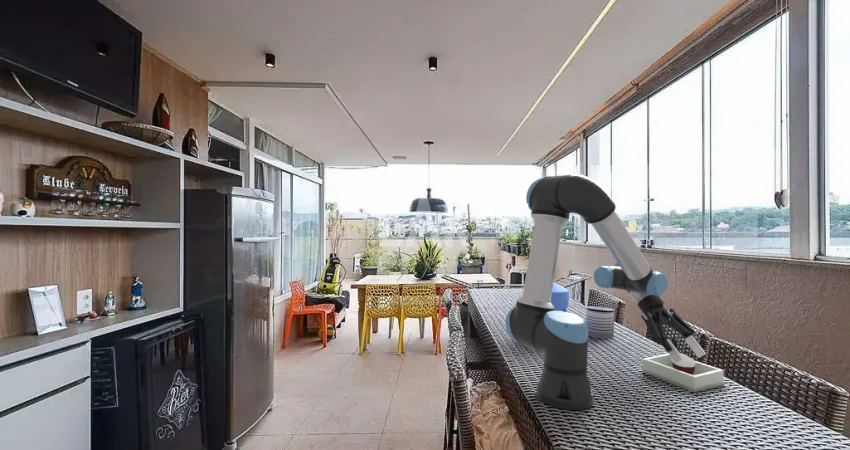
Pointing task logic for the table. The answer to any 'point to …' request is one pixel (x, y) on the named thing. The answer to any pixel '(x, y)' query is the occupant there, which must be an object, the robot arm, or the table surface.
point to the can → (600, 322)
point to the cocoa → (683, 362)
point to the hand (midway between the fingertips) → (691, 358)
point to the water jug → (559, 297)
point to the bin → (683, 373)
